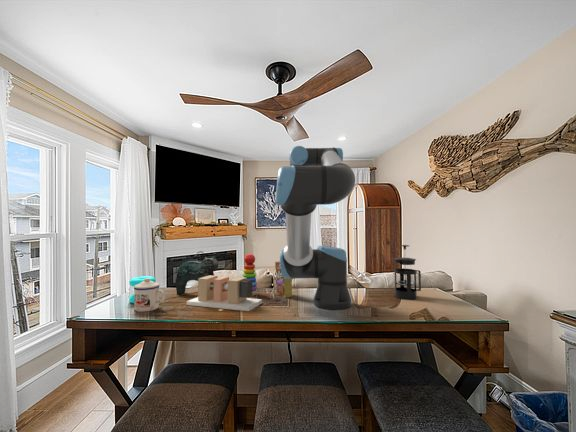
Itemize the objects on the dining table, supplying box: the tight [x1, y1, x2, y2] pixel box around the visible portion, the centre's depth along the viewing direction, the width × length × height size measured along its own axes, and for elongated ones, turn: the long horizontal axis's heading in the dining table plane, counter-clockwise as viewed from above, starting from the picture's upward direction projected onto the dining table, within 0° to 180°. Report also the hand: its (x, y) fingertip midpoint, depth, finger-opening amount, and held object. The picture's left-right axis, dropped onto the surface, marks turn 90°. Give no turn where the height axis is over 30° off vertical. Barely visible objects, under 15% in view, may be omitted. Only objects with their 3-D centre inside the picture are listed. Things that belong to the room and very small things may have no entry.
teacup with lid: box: [133, 278, 166, 313], centre depth 114 cm, size 12×9×12 cm
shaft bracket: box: [186, 275, 263, 312], centre depth 120 cm, size 28×12×10 cm, turn 71°
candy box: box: [274, 260, 293, 299], centre depth 134 cm, size 9×4×15 cm, turn 29°
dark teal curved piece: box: [175, 251, 219, 295], centre depth 138 cm, size 20×6×20 cm, turn 81°
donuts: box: [128, 275, 156, 304], centre depth 126 cm, size 10×10×10 cm
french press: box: [394, 244, 422, 301], centre depth 130 cm, size 12×9×23 cm
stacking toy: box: [242, 253, 258, 297], centre depth 137 cm, size 8×8×19 cm
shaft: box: [210, 280, 252, 298], centre depth 120 cm, size 21×5×6 cm, turn 71°
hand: (298, 235), depth 133 cm, fingers closed
